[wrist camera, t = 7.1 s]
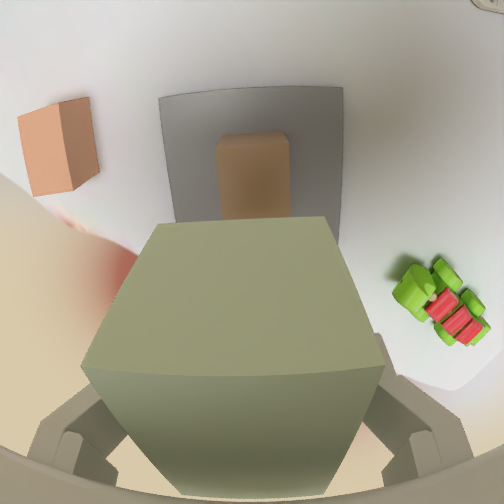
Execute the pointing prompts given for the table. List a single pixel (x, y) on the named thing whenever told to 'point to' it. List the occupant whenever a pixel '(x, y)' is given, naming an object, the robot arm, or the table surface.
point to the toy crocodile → (442, 303)
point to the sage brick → (239, 356)
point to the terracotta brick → (59, 146)
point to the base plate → (255, 114)
